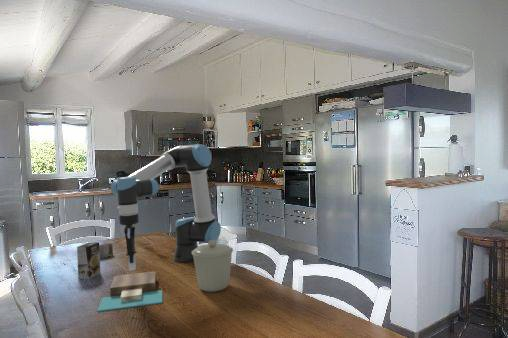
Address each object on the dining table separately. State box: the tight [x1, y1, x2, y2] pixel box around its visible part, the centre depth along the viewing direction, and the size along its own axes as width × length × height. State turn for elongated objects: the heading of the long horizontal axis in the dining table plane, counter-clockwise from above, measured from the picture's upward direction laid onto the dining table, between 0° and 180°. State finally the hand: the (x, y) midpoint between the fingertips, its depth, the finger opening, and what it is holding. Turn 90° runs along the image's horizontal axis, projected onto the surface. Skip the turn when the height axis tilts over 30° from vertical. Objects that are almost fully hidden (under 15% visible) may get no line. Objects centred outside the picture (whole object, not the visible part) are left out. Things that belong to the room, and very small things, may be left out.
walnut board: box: [109, 271, 157, 297], centre depth 158 cm, size 18×16×4 cm
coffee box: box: [76, 241, 101, 280], centre depth 176 cm, size 9×6×16 cm
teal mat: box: [96, 289, 163, 313], centre depth 143 cm, size 24×13×1 cm, turn 105°
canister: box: [192, 240, 234, 293], centre depth 154 cm, size 18×18×21 cm
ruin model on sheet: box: [99, 242, 114, 259], centre depth 210 cm, size 11×3×10 cm, turn 131°
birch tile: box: [121, 288, 142, 302], centre depth 146 cm, size 8×8×2 cm
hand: (132, 269), depth 148 cm, fingers closed
